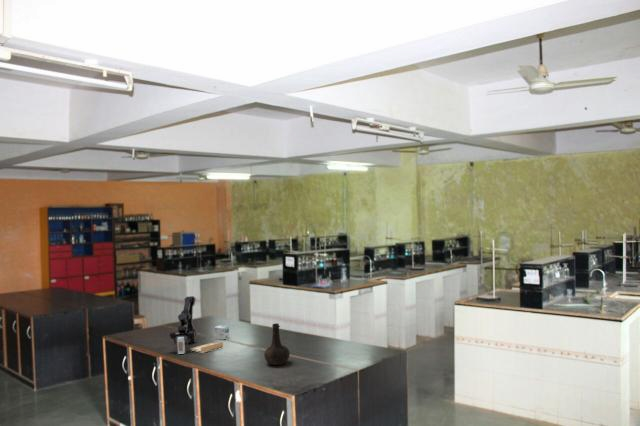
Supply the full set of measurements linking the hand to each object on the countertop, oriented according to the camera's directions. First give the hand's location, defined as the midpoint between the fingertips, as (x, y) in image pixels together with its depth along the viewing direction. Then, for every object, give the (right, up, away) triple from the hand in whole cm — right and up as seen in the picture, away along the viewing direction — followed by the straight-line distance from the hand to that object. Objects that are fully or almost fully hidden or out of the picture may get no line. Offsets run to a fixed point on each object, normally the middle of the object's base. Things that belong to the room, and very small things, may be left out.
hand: (181, 344), depth 395 cm
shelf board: (+18, -7, +10) cm, 21 cm away
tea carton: (0, -8, 0) cm, 8 cm away
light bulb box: (+24, -7, +44) cm, 50 cm away
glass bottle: (+78, -4, -36) cm, 86 cm away
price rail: (+23, -5, +5) cm, 24 cm away
